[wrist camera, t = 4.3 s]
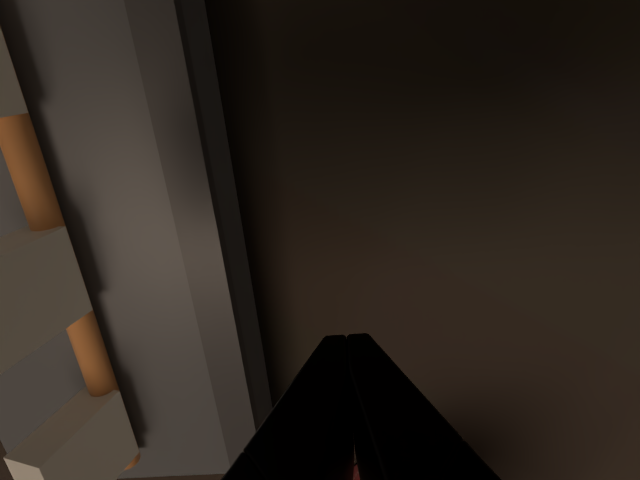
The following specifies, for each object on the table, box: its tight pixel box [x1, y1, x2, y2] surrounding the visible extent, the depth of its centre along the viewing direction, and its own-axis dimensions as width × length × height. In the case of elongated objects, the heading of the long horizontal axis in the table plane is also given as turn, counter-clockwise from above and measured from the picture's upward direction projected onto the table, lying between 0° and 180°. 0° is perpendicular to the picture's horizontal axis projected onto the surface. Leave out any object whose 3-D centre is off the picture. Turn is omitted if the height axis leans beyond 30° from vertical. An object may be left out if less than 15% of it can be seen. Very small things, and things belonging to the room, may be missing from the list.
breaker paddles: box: [0, 26, 141, 480], centre depth 13 cm, size 1×16×4 cm, turn 6°
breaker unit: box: [0, 0, 273, 479], centre depth 15 cm, size 10×19×3 cm, turn 5°
